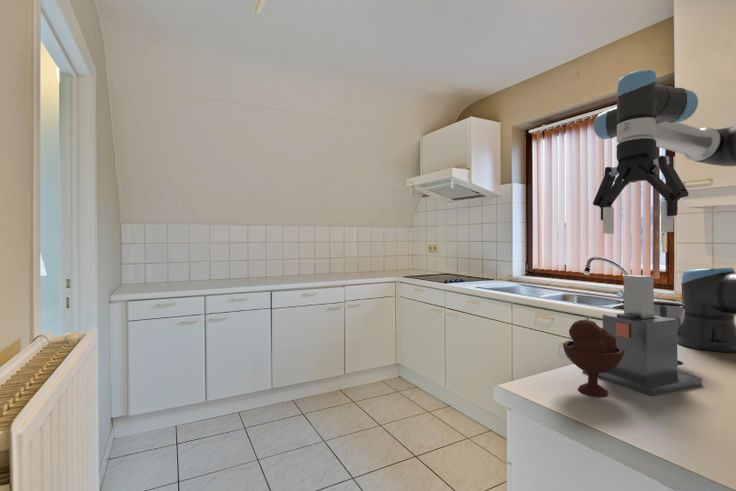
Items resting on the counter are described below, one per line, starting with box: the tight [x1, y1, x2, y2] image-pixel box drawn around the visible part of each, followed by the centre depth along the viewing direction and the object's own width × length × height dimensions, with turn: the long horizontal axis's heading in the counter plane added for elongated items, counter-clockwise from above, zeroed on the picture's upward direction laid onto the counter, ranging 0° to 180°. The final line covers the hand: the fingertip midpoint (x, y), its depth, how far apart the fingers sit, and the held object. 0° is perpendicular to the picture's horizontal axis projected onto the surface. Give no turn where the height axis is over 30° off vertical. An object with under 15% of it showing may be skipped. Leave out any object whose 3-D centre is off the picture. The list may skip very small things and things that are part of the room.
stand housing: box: [582, 312, 703, 397], centre depth 87 cm, size 16×16×15 cm
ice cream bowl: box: [562, 319, 624, 398], centre depth 79 cm, size 11×11×15 cm
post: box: [623, 274, 655, 320], centre depth 87 cm, size 4×4×21 cm
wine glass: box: [654, 300, 685, 366], centre depth 99 cm, size 8×8×15 cm
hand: (635, 232), depth 88 cm, fingers open, 13 cm apart
